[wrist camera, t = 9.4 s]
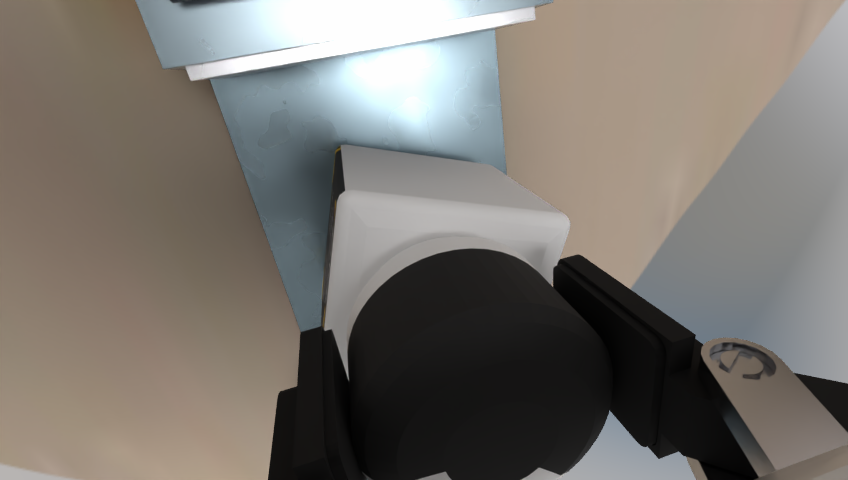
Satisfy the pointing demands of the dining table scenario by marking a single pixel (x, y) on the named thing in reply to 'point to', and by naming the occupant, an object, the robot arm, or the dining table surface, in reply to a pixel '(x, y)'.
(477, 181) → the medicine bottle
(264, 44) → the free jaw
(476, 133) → the base
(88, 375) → the dining table surface
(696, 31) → the dining table surface
